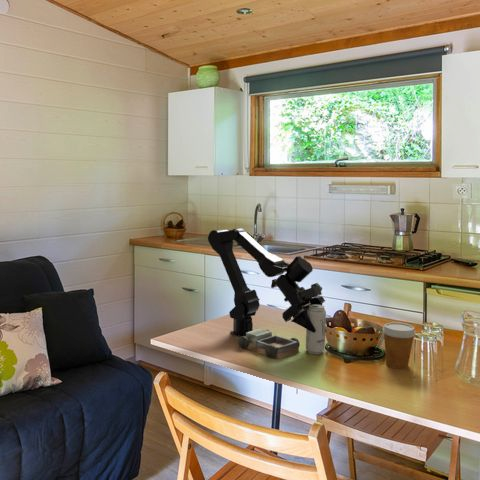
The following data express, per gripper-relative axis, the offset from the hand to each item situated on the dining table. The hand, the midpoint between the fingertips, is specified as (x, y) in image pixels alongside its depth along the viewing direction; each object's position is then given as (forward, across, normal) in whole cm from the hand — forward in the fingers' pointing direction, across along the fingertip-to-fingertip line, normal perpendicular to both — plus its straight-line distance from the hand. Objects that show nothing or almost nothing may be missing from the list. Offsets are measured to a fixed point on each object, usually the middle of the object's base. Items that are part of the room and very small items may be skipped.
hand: (319, 329), depth 170 cm
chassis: (-5, -7, +16) cm, 18 cm away
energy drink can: (+4, 0, +6) cm, 8 cm away
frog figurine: (+14, +16, -3) cm, 22 cm away
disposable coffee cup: (+22, +6, -11) cm, 25 cm away
